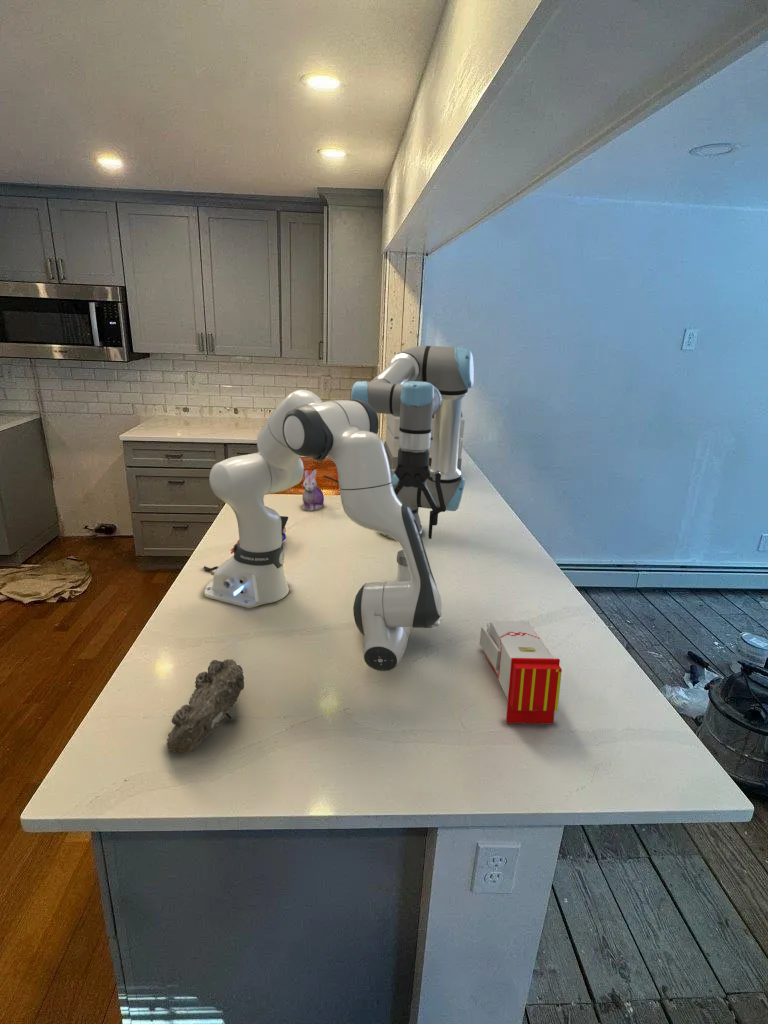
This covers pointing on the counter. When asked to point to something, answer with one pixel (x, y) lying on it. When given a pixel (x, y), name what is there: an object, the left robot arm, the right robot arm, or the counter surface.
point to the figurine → (312, 492)
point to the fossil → (206, 705)
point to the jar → (403, 573)
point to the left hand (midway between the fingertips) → (403, 594)
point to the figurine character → (283, 526)
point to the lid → (401, 558)
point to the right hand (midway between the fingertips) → (408, 535)
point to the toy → (523, 670)
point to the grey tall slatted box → (393, 440)
